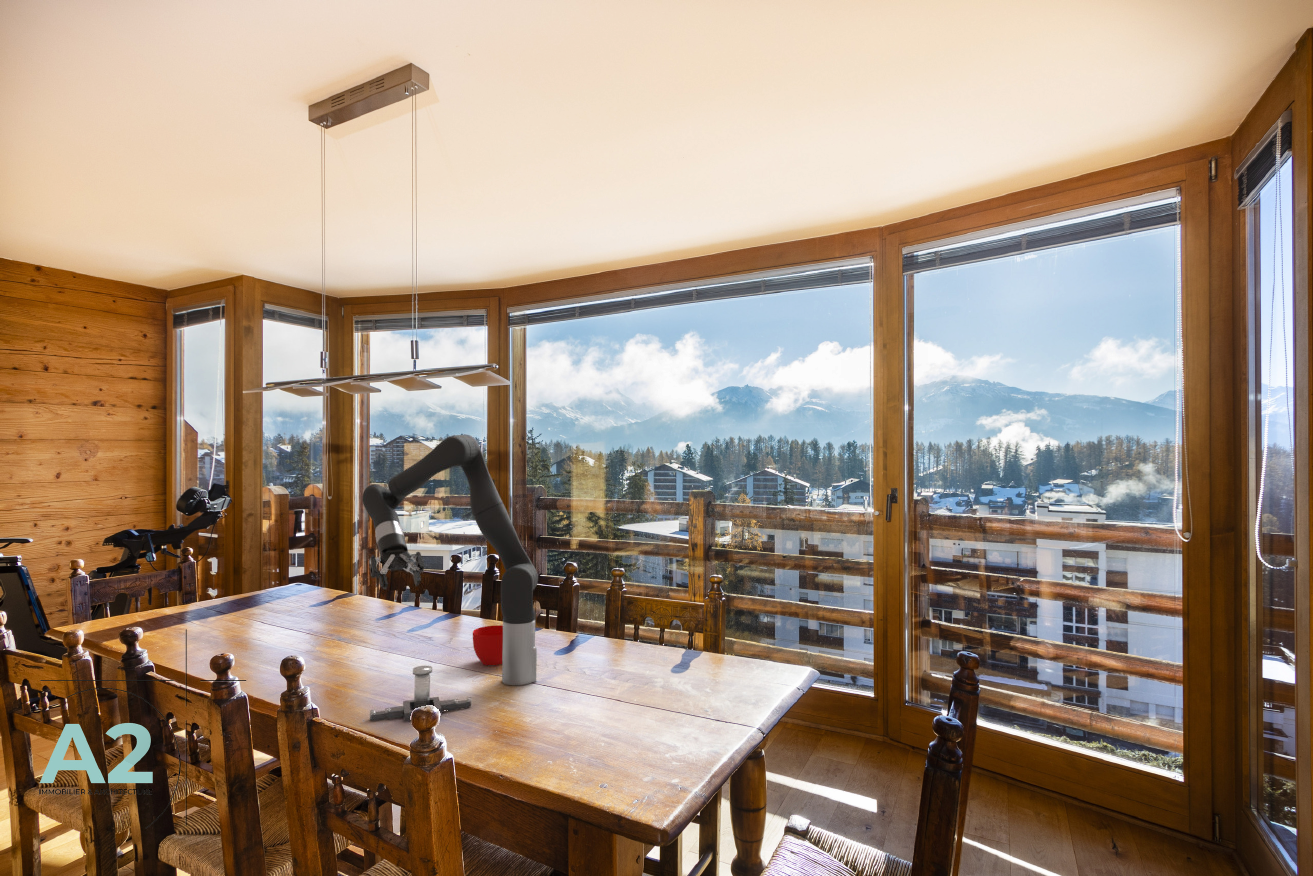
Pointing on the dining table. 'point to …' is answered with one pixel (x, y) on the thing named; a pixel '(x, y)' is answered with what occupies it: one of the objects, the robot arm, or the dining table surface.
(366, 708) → the dining table surface
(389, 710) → the tap wrench handle
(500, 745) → the dining table surface
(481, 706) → the dining table surface
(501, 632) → the ceramic cup
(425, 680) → the pin
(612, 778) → the dining table surface
